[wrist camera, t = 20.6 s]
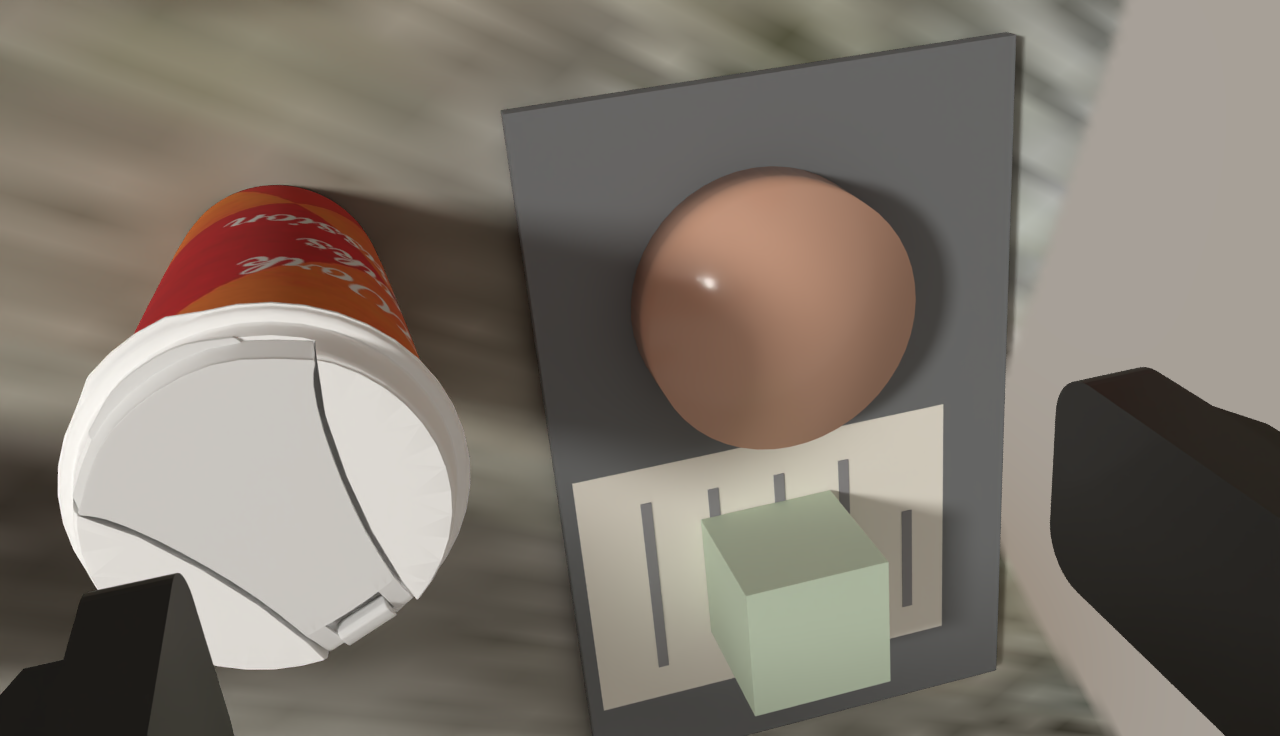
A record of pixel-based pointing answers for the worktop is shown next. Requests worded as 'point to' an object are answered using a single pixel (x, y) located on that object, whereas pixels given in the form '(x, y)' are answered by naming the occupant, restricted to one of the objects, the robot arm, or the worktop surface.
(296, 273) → the coffee cup
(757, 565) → the cube
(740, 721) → the mat
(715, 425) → the peach domed disc
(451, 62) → the worktop surface
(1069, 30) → the worktop surface
